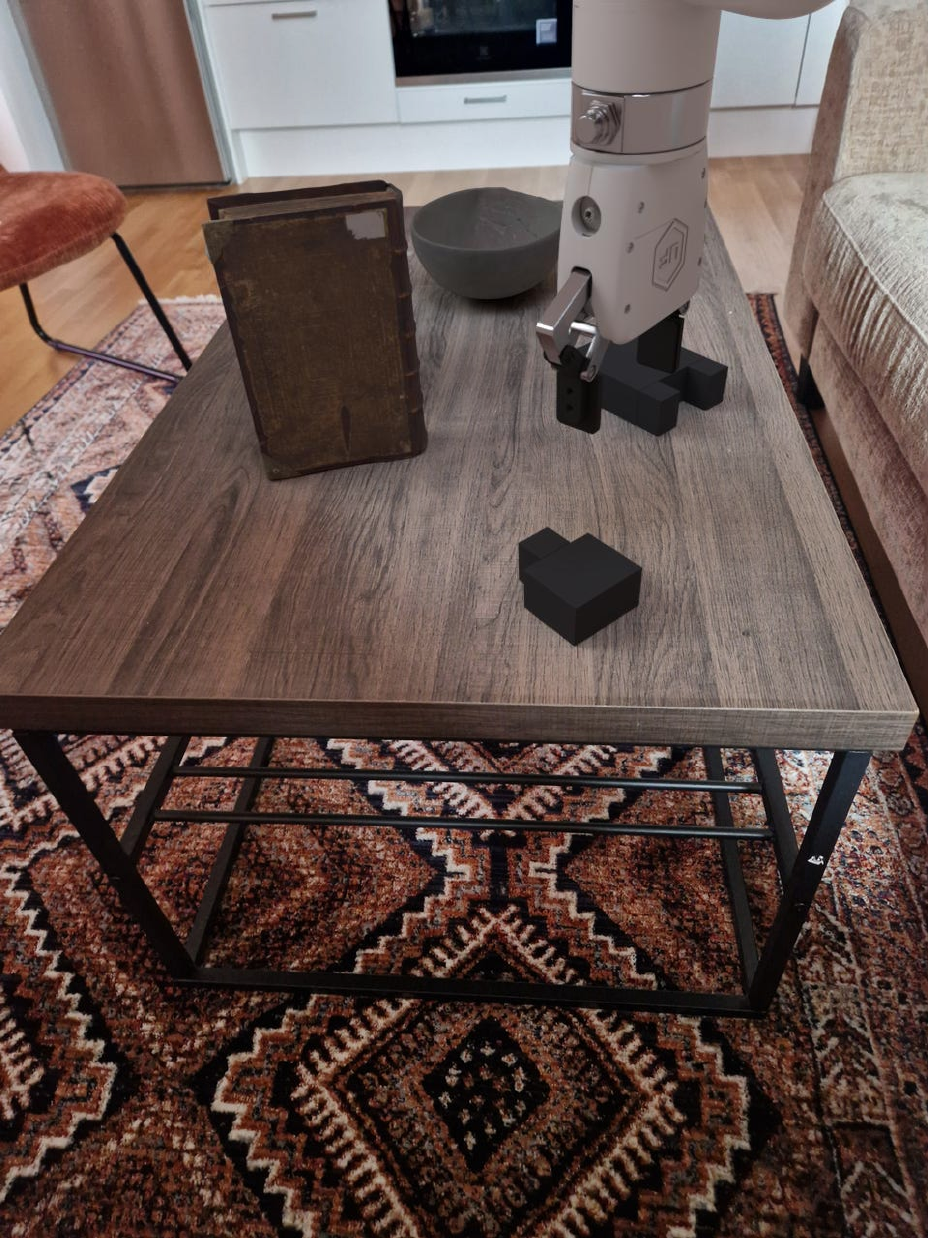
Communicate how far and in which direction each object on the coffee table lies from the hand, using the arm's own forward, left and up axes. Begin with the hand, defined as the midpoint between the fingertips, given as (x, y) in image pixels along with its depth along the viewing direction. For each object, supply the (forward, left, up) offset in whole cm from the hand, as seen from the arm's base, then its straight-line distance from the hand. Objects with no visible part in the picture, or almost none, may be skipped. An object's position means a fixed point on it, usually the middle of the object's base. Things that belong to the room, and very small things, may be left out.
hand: (619, 395), depth 58 cm
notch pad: (+19, -24, -17) cm, 35 cm away
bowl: (+52, -30, -17) cm, 63 cm away
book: (+31, +6, -17) cm, 36 cm away
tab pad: (+1, +4, -17) cm, 17 cm away
